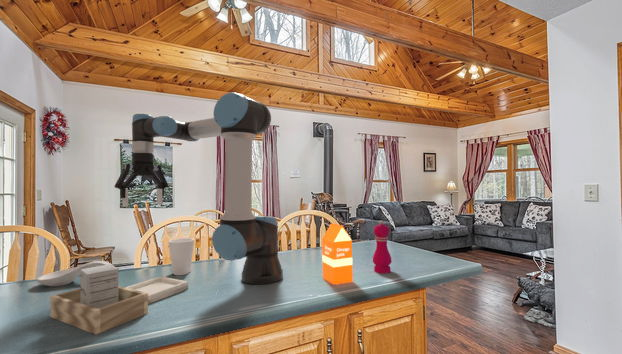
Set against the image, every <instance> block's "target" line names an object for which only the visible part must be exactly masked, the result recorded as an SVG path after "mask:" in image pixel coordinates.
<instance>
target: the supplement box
mask: <svg viewBox="0 0 622 354" xmlns="http://www.w3.org/2000/svg"><path fill="white" fill-rule="evenodd" d="M111 264H112V263H111ZM111 264H109V265H102V266H101V265H96V266H91V267H89V268H86V269H81V274H80V288H81V304H84V305H88V306H91V307H94V308H97V309H99V308H102V307H105V306H108V305H111V304H114V303H116V302H118V286H119V268H117V267H116V266H114V265H113V264H112V265H113V266H112V265H111Z"/></svg>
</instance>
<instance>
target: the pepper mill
mask: <svg viewBox="0 0 622 354" xmlns="http://www.w3.org/2000/svg"><path fill="white" fill-rule="evenodd" d="M373 233H374V235H375V241H376V245H375V246H376V248H375V250H374V254H373V256H372V263H373V264H374V266H373V269H374V272H375V273H378V274H389V273H391V266H390V265H391V264H392V262H393V261H392V256H391V254H390V252H389V251H390V250H389V248H388V241H389V236H388V235H389V234H390V228H389V226H387V225H386V224H384V220H379V221H378V224H377V225H375V226H374V228H373Z"/></svg>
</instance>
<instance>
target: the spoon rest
mask: <svg viewBox="0 0 622 354" xmlns="http://www.w3.org/2000/svg"><path fill="white" fill-rule="evenodd" d="M109 264H111V265H112V266H114V265H113V264H112V263H111V262H108V261H106V260H105V261H104V260H93V261H90V262H86V263H85V264H81V265H79V266H75V267H72V268H71V267H70V268H66V269H62V270H61V269H60V270H57V271H52V272H50V273H49V272H48V273H46V274H44V275H41V276H39V277H38V278H37V279H36V280H37V281H38V282H39V283H40V284H41V285H43V286H46V287H60V286H61V285H62V286H66V285H69V284H72V282H74V280H76V279H77V278H79V276H81V269H86V268H91V267H95V266H102V265H109Z"/></svg>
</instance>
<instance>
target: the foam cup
mask: <svg viewBox="0 0 622 354" xmlns="http://www.w3.org/2000/svg"><path fill="white" fill-rule="evenodd" d="M194 246H195V239H194V238H192V237H191V238H190V237H181V238H174V239H170V240H168V250H169V256H170V263H171V264H170V265H171V271H172V274H174V276H182V275H187V274H190V273H191V270H192V269H191V267H192V260H193V252H194ZM189 272H190V273H189Z"/></svg>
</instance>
